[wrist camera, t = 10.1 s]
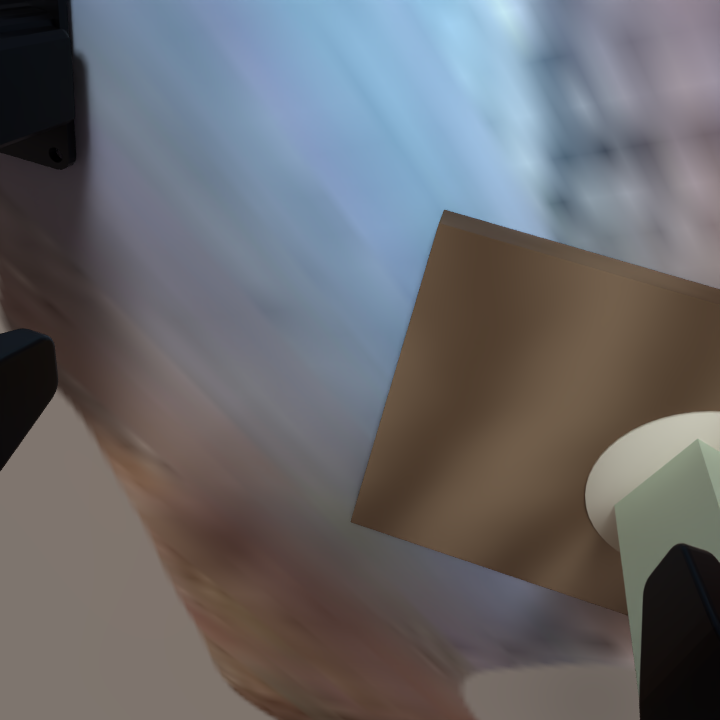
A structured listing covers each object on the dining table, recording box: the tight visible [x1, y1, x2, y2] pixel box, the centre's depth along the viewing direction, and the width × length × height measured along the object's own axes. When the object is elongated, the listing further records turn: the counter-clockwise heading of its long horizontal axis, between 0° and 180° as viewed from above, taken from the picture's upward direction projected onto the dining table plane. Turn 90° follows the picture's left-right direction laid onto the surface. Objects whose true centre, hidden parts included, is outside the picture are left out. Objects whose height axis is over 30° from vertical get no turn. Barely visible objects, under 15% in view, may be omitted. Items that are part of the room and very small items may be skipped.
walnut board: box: [351, 210, 720, 615], centre depth 22 cm, size 16×14×3 cm
